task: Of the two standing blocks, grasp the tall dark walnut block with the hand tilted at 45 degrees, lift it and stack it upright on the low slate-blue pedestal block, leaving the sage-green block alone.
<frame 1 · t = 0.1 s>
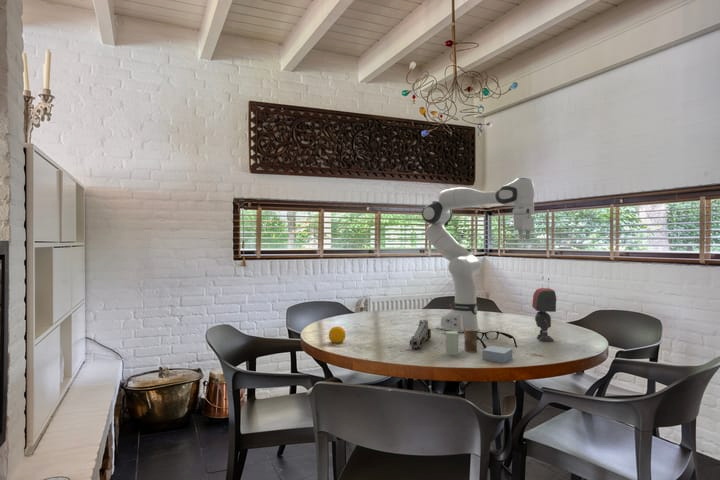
hand: (524, 239, 221), 48 cm above the table, tool pointing down, fingers open, 8 cm apart
slate pedestal: (497, 359, 183), on the table
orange: (337, 342, 211), on the table
toy robot: (544, 340, 216), on the table
glasses: (492, 344, 208), on the table
walnut block: (470, 350, 196), on the table
toy: (420, 345, 207), on the table
sage block: (451, 353, 190), on the table
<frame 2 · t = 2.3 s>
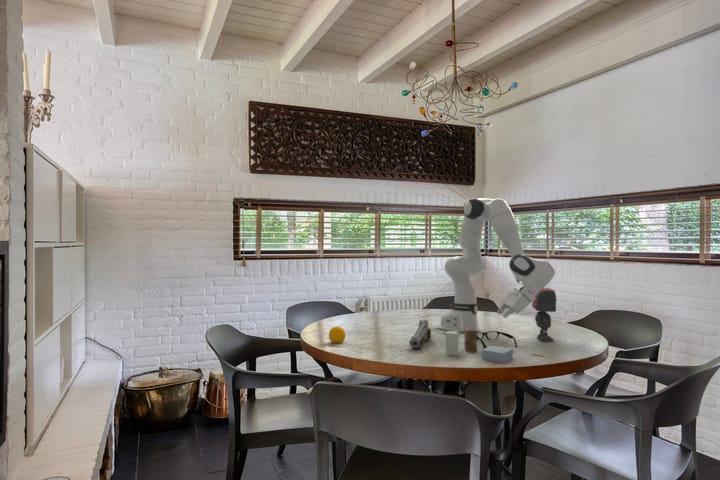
hand: (500, 315, 195), 15 cm above the table, tool tilted 45°, fingers open, 8 cm apart
nothing on the table moved.
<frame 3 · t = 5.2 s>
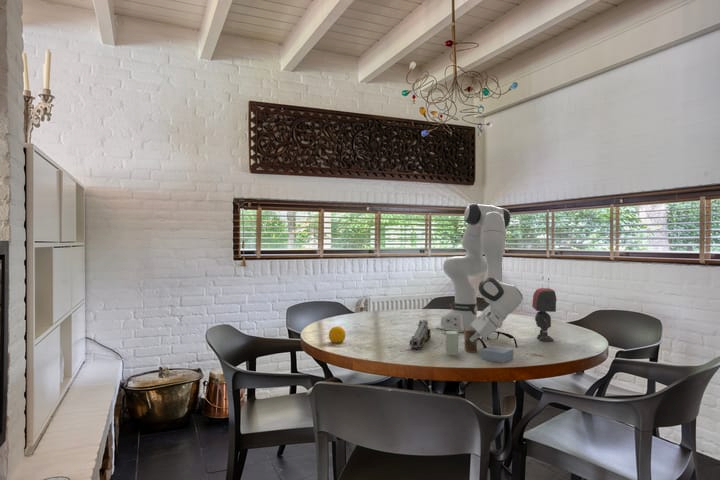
hand: (469, 338, 196), 5 cm above the table, tool tilted 45°, fingers closed on walnut block, 4 cm apart
walnut block: (470, 350, 196), on the table, touching gripper
everything else where it was.
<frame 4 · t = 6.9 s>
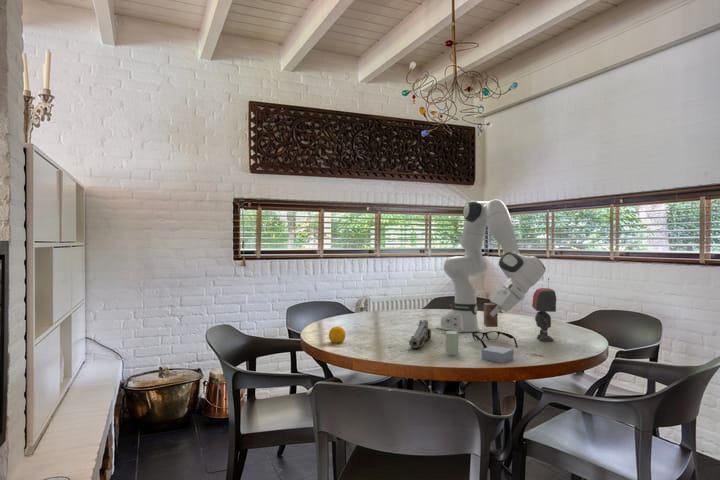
hand: (489, 314, 186), 17 cm above the table, tool tilted 45°, fingers closed on walnut block, 4 cm apart
walnut block: (490, 325, 185), point 13 cm above the table, touching gripper
everything else where it was.
when the fingers open (10 cm above the table, at t = 8.7 s): walnut block drops 2 cm, point 4 cm above the table.
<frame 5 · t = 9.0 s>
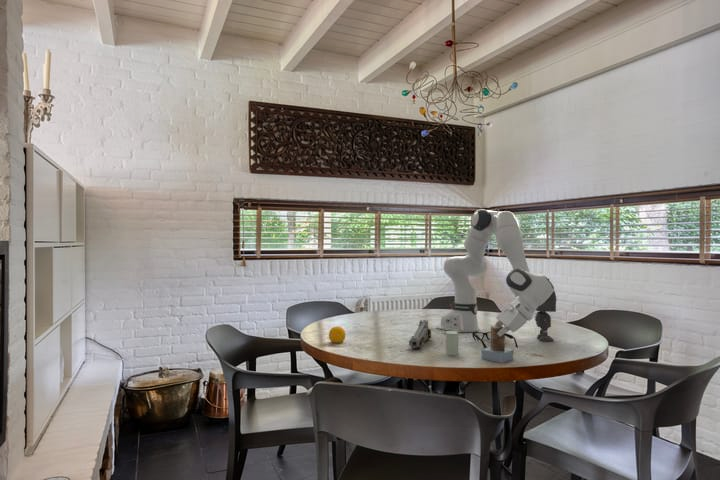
hand: (495, 332, 183), 10 cm above the table, tool tilted 45°, fingers open, 7 cm apart
walnut block: (497, 349, 183), point 4 cm above the table
everything else where it was.
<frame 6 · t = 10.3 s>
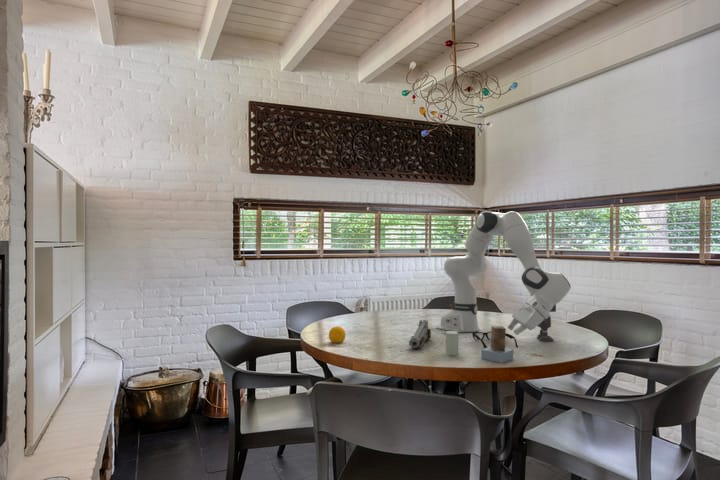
hand: (512, 331, 182), 11 cm above the table, tool tilted 45°, fingers open, 8 cm apart
slate pedestal: (497, 359, 183), on the table, touching walnut block
walnut block: (497, 349, 182), point 4 cm above the table, touching slate pedestal
everything else where it was.
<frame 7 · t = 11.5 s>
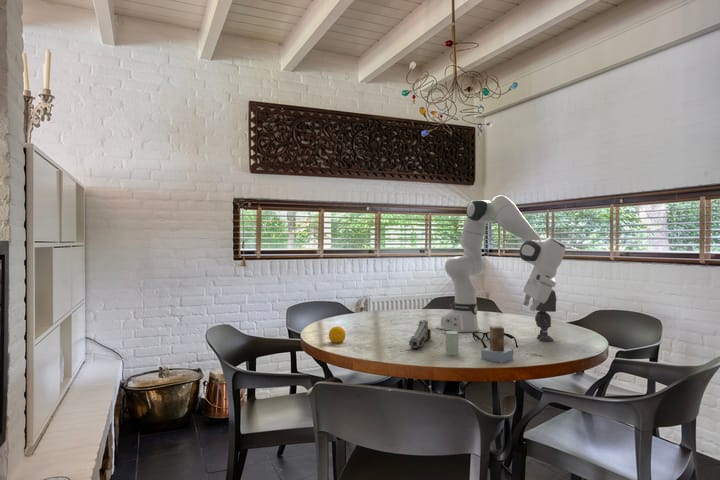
hand: (528, 307, 187), 20 cm above the table, tool tilted 20°, fingers open, 8 cm apart
nothing on the table moved.
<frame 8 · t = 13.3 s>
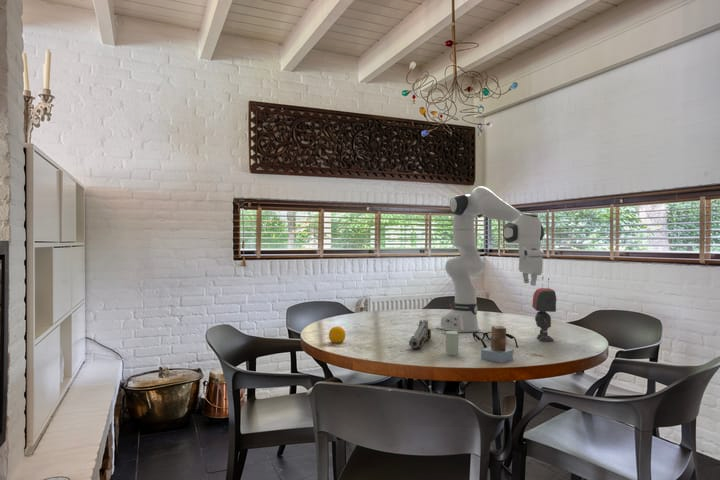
hand: (529, 284, 190), 29 cm above the table, tool pointing down, fingers open, 8 cm apart
at the end: walnut block inside the target area on the slate pedestal (0.4 cm from its centre), point 4.1 cm above the slate pedestal's base; walnut block tilted 1°; the gripper is holding nothing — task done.
